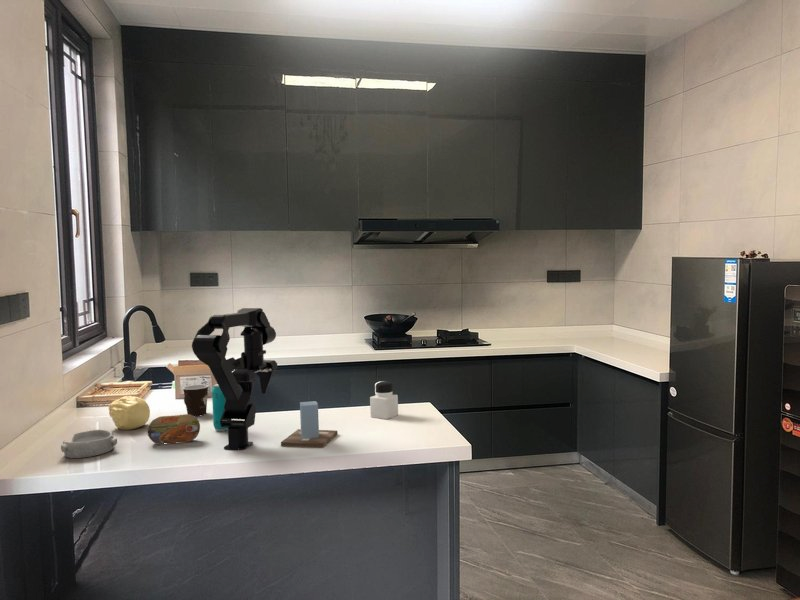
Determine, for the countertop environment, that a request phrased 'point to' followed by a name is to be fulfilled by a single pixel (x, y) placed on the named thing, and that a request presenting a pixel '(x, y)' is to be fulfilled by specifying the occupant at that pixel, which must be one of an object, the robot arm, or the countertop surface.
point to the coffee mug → (196, 399)
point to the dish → (89, 444)
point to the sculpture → (129, 412)
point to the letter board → (309, 439)
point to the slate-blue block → (309, 420)
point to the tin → (174, 429)
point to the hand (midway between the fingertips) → (256, 397)
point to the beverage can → (218, 407)
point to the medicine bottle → (384, 401)
